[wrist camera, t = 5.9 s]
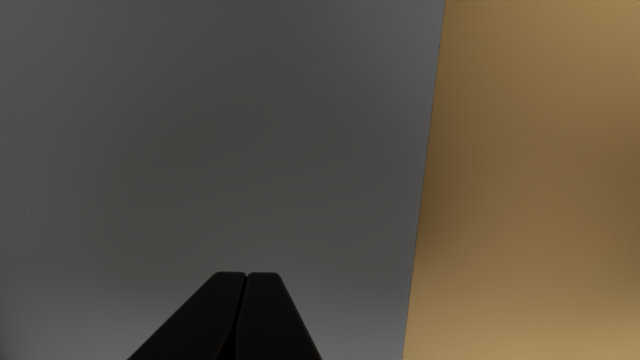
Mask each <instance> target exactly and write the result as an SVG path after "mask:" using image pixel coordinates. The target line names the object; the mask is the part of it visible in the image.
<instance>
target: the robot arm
mask: <svg viewBox="0 0 640 360" xmlns="http://www.w3.org/2000/svg"><path fill="white" fill-rule="evenodd" d="M127 360H323V359H322V357H321V355H320V353H319V351H318V349H317V347H316V345H315V343H314V341H313V339H312V337H311V335H310V333H309V331H308V329H307V328H306V326H305V324H304V322H303V320H302V318H301V316H300V314H299V312H298V310H297V308H296V306H295V304H294V302H293V300H292V298H291V296H290V294H289V292H288V290H287V288H286V286H285V284H284V282H283V280H282V278H281V276H280V275H279V274H278V273H276V272H251V273H249V274H248V276H247V275H246V273H244V272H235V271H218V272H216V273H214V274H213V275H212V276H211V277H210V278H209V279H208V280H207V281H206V282H205V283H204V284H203V285H202V286H201V287H200V288H199V289H198V290H197V291H196V292H195V293H194V294H192V295H191V296H190V297H189V298H188V299H187V300H186V301H185V302H184V303H183V304H182V305H181V306H180V307H179V308H178V309H177V310H176V311H175V312H174V313H173V314H172V315H171V316H170V317H169V318H168V319H167V320H166V321H165V322H164V323H163V324H162V325H161V326H160V327H159V328H158V329H157V330H156V331H155V332H154V333H153V334H152V335H151V336H150V337H149V338H148V339H147V340H146V341H145V342H144V343H143V344H142V345H141V346H140V347H139V348H138V349H137V350H136V351H135V352H134V353H133V354H132V355H131V356H130V357H129V358H128V359H127Z"/></svg>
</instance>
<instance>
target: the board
mask: <svg viewBox="0 0 640 360" xmlns="http://www.w3.org/2000/svg"><path fill="white" fill-rule="evenodd" d="M444 5H445V0H0V360H127V359H128V358H129V357H130V356H131V355H132V354H133V353H134V352H135V351H136V350H137V349H138V348H139V347H140V346H141V345H142V344H143V343H144V342H145V341H146V340H147V339H148V338H149V337H150V336H151V335H152V334H153V333H154V332H155V331H156V330H157V329H158V328H159V327H160V326H161V325H162V324H163V323H164V322H165V321H166V320H167V319H168V318H169V317H170V316H171V315H172V314H173V313H174V312H175V311H176V310H177V309H178V308H179V307H180V306H181V305H182V304H183V303H184V302H185V301H186V300H187V299H188V298H189V297H190V296H191V295H192V294H194V293H195V292H196V291H197V290H198V289H199V288H200V287H201V286H202V285H203V284H204V283H205V282H206V281H207V280H208V279H209V278H210V277H211V276H212V275H213V274H214V273H216V272H218V271H235V272H244V273H246V275H247V276H248V274H249V273H251V272H276V273H278V274H279V275H280V276H281V278H282V280H283V282H284V284H285V286H286V288H287V290H288V292H289V294H290V296H291V298H292V300H293V302H294V304H295V306H296V308H297V310H298V312H299V314H300V316H301V318H302V320H303V322H304V324H305V326H306V328H307V329H308V331H309V333H310V335H311V337H312V339H313V341H314V343H315V345H316V347H317V349H318V351H319V353H320V355H321V357H322V359H323V360H402V355H403V347H404V338H405V330H406V322H407V314H408V305H409V297H410V289H411V280H412V272H413V264H414V255H415V247H416V239H417V230H418V222H419V214H420V205H421V197H422V189H423V180H424V172H425V164H426V155H427V147H428V139H429V130H430V122H431V114H432V105H433V97H434V89H435V80H436V72H437V64H438V55H439V47H440V39H441V30H442V22H443V14H444Z"/></svg>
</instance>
